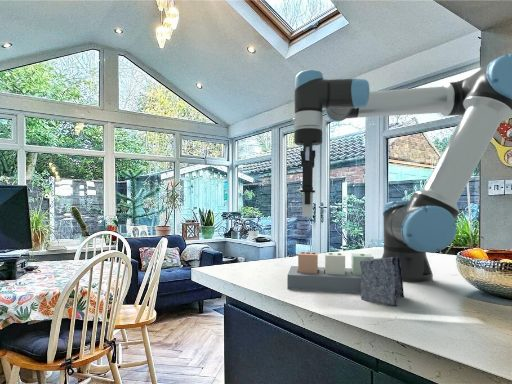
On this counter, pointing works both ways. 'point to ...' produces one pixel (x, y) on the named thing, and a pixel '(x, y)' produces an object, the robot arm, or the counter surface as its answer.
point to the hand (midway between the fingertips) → (307, 216)
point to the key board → (324, 281)
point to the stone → (381, 280)
